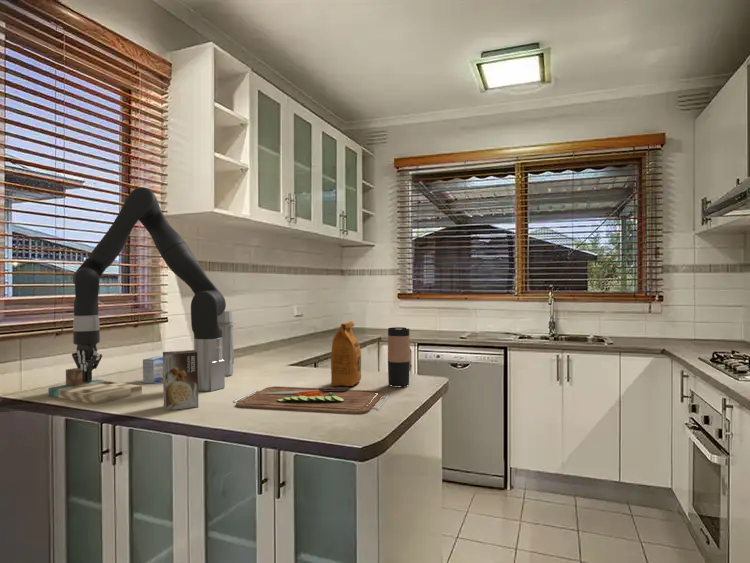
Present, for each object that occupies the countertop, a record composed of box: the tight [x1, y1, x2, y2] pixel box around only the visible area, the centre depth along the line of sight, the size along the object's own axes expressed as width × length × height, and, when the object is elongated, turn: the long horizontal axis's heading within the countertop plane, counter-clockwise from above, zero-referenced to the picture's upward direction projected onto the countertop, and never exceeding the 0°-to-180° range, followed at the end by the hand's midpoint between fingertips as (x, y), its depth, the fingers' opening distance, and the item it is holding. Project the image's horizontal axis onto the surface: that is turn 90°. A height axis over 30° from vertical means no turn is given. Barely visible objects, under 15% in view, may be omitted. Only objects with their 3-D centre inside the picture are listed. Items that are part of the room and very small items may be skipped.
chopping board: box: [232, 385, 390, 415], centre depth 157 cm, size 45×27×3 cm, turn 78°
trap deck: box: [47, 378, 143, 405], centre depth 165 cm, size 24×16×2 cm, turn 62°
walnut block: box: [65, 367, 90, 386], centre depth 170 cm, size 5×5×5 cm
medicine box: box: [142, 355, 163, 384], centre depth 187 cm, size 8×4×9 cm, turn 168°
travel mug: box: [387, 326, 411, 386], centre depth 179 cm, size 8×8×20 cm
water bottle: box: [217, 309, 236, 378], centre depth 198 cm, size 9×8×25 cm
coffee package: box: [330, 320, 362, 387], centre depth 181 cm, size 10×12×22 cm
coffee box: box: [162, 349, 200, 412], centre depth 149 cm, size 9×6×16 cm
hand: (87, 382), depth 167 cm, fingers closed
